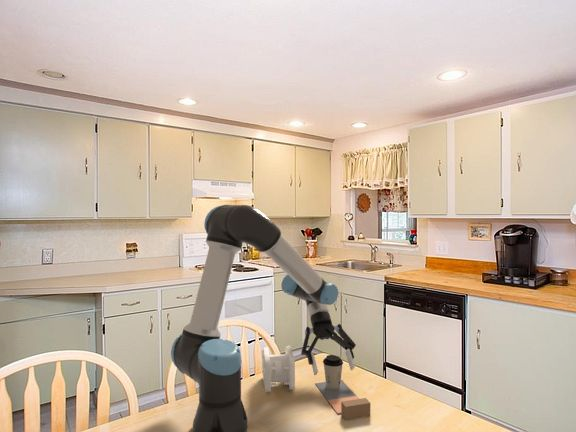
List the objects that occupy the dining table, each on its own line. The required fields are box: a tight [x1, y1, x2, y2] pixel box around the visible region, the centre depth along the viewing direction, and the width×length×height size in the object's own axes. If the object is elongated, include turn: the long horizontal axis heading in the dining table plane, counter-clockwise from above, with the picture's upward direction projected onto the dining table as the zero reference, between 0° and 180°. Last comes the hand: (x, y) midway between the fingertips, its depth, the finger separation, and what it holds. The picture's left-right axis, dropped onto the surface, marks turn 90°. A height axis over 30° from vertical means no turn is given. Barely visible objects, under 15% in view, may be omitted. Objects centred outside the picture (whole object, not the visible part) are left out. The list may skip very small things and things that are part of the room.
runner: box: [315, 379, 371, 421], centre depth 122 cm, size 24×10×4 cm, turn 15°
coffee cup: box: [322, 354, 344, 390], centre depth 129 cm, size 7×7×10 cm
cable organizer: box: [261, 345, 296, 393], centre depth 131 cm, size 15×11×12 cm
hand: (334, 371), depth 129 cm, fingers open, 13 cm apart
